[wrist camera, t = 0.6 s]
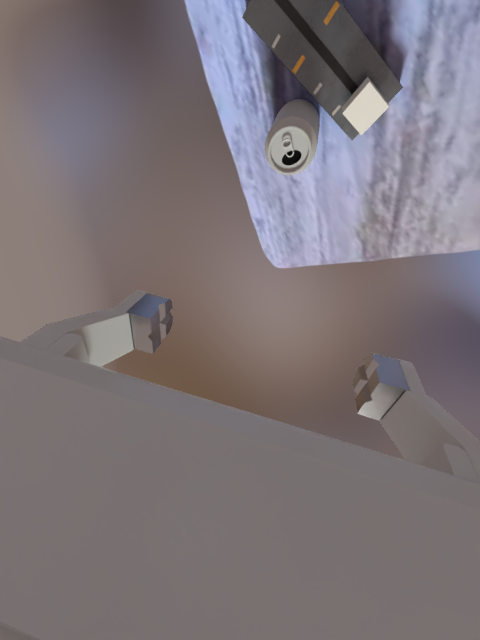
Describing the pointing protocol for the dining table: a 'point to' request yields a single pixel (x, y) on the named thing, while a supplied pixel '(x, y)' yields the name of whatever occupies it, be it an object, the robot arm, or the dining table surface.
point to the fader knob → (364, 106)
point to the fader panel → (322, 51)
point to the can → (293, 137)
